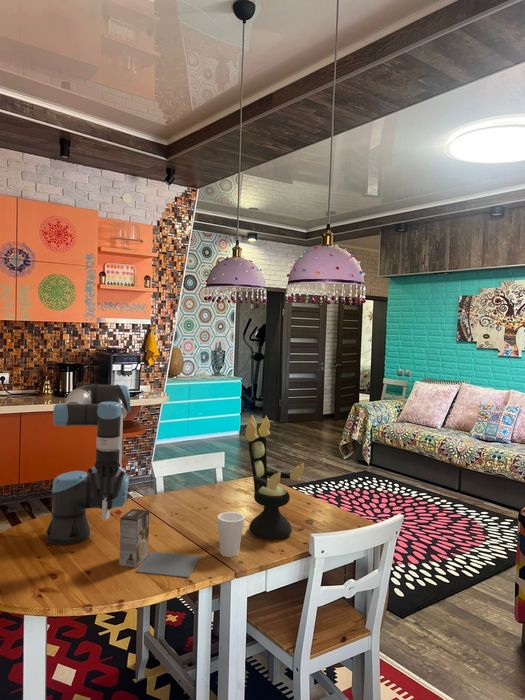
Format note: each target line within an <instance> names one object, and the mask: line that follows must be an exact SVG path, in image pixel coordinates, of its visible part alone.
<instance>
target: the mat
mask: <svg viewBox="0 0 525 700" xmlns="http://www.w3.org/2000/svg"><path fill="white" fill-rule="evenodd" d="M200 559H201V556H200V555H199V556H197V555H191V554H190V555H188V554H179V553H171V552H170V553H169V552H159V551H150V553H148V557H147V558H146V559H145V560H144V561H143V562H142V563H141V564H140V565H139V566H138V567H137V569H136V571H135V573H140V574H147V573H148V574H149V575H158V576H167V577H169V576H170V577H175V576H177V578H185V577H189V578H190V577H191V576H190V575H192V574H191V573H193V572H194V570H195V568H196V567H197V565H198V563H199V562H200ZM195 566H196V567H195ZM178 576H179V577H178Z"/></svg>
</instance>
